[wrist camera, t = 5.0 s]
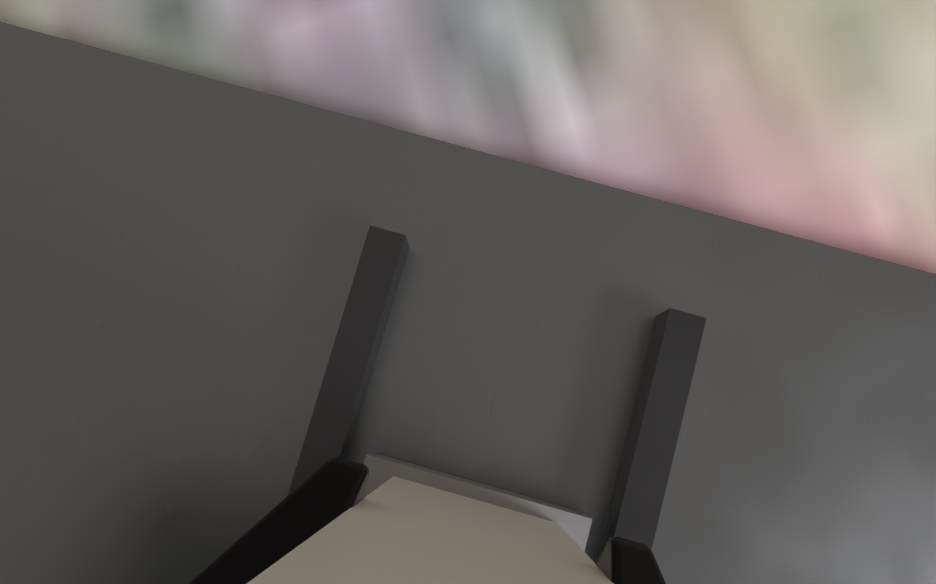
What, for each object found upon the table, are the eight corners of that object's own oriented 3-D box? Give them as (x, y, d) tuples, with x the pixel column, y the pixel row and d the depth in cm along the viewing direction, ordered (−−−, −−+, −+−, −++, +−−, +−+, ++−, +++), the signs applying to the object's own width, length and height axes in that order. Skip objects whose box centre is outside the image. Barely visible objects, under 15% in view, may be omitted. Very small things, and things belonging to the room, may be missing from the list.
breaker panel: (1197, 1237, 14) (1608, 1694, 9) (-451, 726, 15) (-908, 876, 10) (1303, 399, 16) (1682, 388, 11) (-150, 6, 17) (-402, -167, 12)
